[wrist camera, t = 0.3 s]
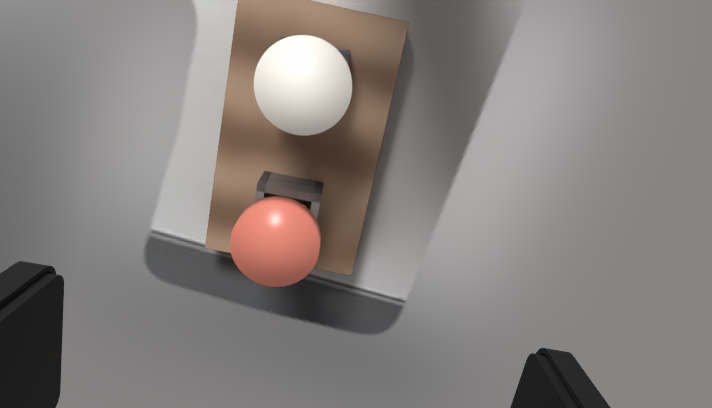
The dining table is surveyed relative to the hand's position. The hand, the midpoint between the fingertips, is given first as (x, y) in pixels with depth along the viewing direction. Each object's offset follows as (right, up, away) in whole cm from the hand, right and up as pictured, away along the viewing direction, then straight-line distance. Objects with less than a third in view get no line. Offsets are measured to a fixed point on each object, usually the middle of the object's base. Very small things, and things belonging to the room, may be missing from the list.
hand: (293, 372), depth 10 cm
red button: (-4, +2, +27) cm, 28 cm away
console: (-3, +9, +32) cm, 33 cm away
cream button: (-2, +12, +24) cm, 27 cm away
